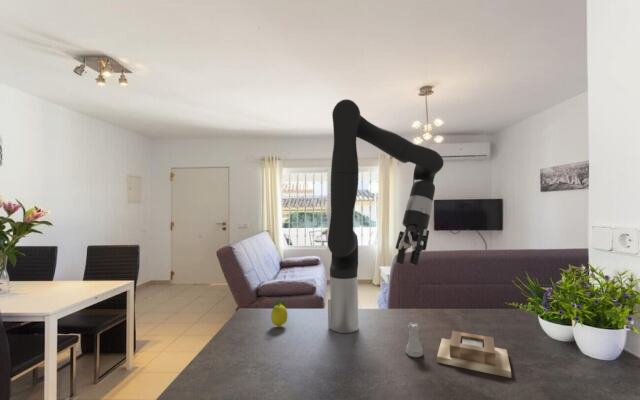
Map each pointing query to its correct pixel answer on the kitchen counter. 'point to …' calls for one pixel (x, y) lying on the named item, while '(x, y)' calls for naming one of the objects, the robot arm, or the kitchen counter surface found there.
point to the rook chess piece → (414, 341)
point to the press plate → (472, 342)
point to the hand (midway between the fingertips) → (405, 263)
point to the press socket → (474, 354)
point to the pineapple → (279, 314)
